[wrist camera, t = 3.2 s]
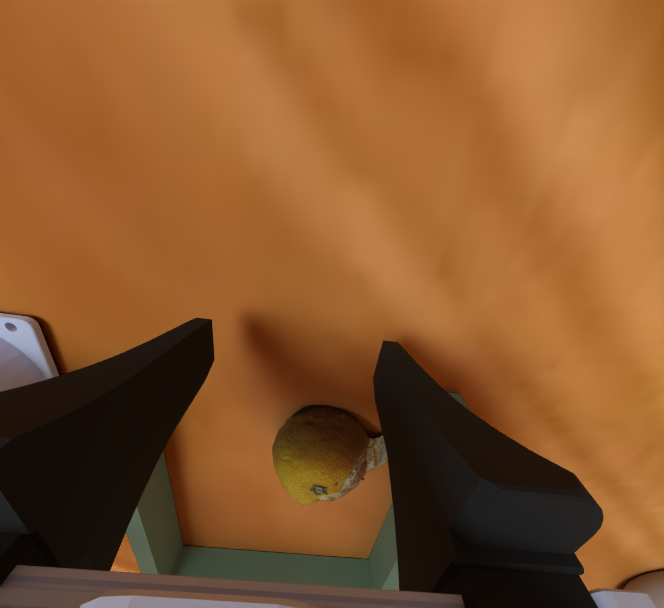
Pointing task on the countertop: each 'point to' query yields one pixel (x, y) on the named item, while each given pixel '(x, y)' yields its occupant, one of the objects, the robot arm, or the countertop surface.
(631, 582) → the pump dispenser
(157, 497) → the green u-shaped bracket
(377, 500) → the countertop surface
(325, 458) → the fruit
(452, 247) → the countertop surface
